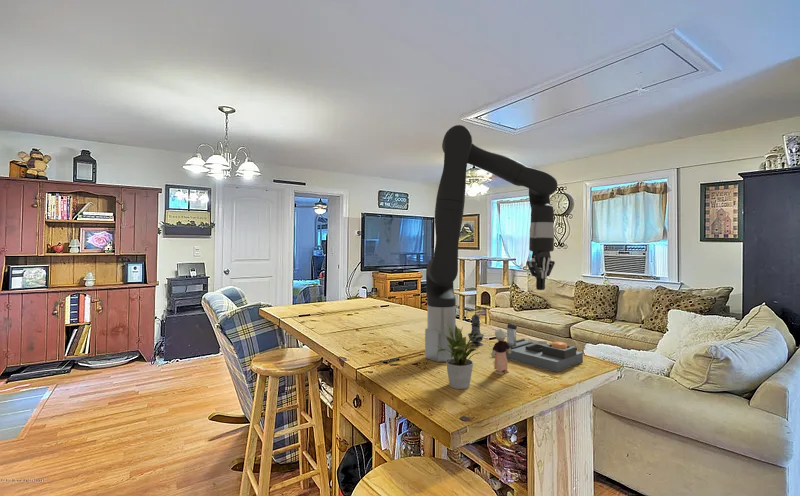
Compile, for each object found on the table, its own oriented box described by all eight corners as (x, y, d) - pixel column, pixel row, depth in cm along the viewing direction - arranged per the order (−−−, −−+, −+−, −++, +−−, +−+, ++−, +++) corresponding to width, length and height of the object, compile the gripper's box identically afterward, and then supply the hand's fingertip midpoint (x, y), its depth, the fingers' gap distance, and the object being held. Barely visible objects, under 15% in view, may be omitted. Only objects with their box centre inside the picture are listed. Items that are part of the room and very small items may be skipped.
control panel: (556, 372, 108) (556, 353, 108) (494, 355, 126) (494, 338, 126) (583, 361, 118) (583, 344, 118) (521, 347, 136) (521, 332, 136)
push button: (562, 356, 113) (562, 346, 113) (548, 352, 117) (548, 343, 117) (569, 353, 116) (569, 343, 116) (556, 350, 119) (556, 340, 119)
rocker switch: (538, 343, 119) (538, 340, 119) (527, 341, 122) (528, 338, 122) (546, 344, 122) (546, 341, 122) (536, 342, 125) (536, 339, 125)
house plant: (418, 380, 102) (418, 320, 102) (458, 372, 109) (458, 316, 109) (450, 398, 90) (450, 330, 89) (493, 388, 96) (493, 324, 96)
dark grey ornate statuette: (482, 342, 142) (482, 311, 142) (484, 346, 136) (484, 313, 136) (467, 342, 143) (467, 310, 143) (468, 346, 137) (468, 313, 137)
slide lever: (514, 347, 124) (514, 325, 124) (506, 345, 126) (506, 323, 126) (518, 346, 125) (518, 324, 125) (509, 344, 127) (509, 322, 127)
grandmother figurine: (501, 368, 112) (501, 326, 112) (513, 371, 110) (513, 328, 109) (487, 374, 107) (487, 330, 107) (499, 377, 104) (499, 332, 104)
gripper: (542, 237, 129) (541, 287, 129) (519, 236, 121) (518, 289, 121) (563, 237, 123) (562, 289, 123) (540, 235, 115) (539, 292, 115)
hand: (540, 289), depth 122 cm, fingers closed
